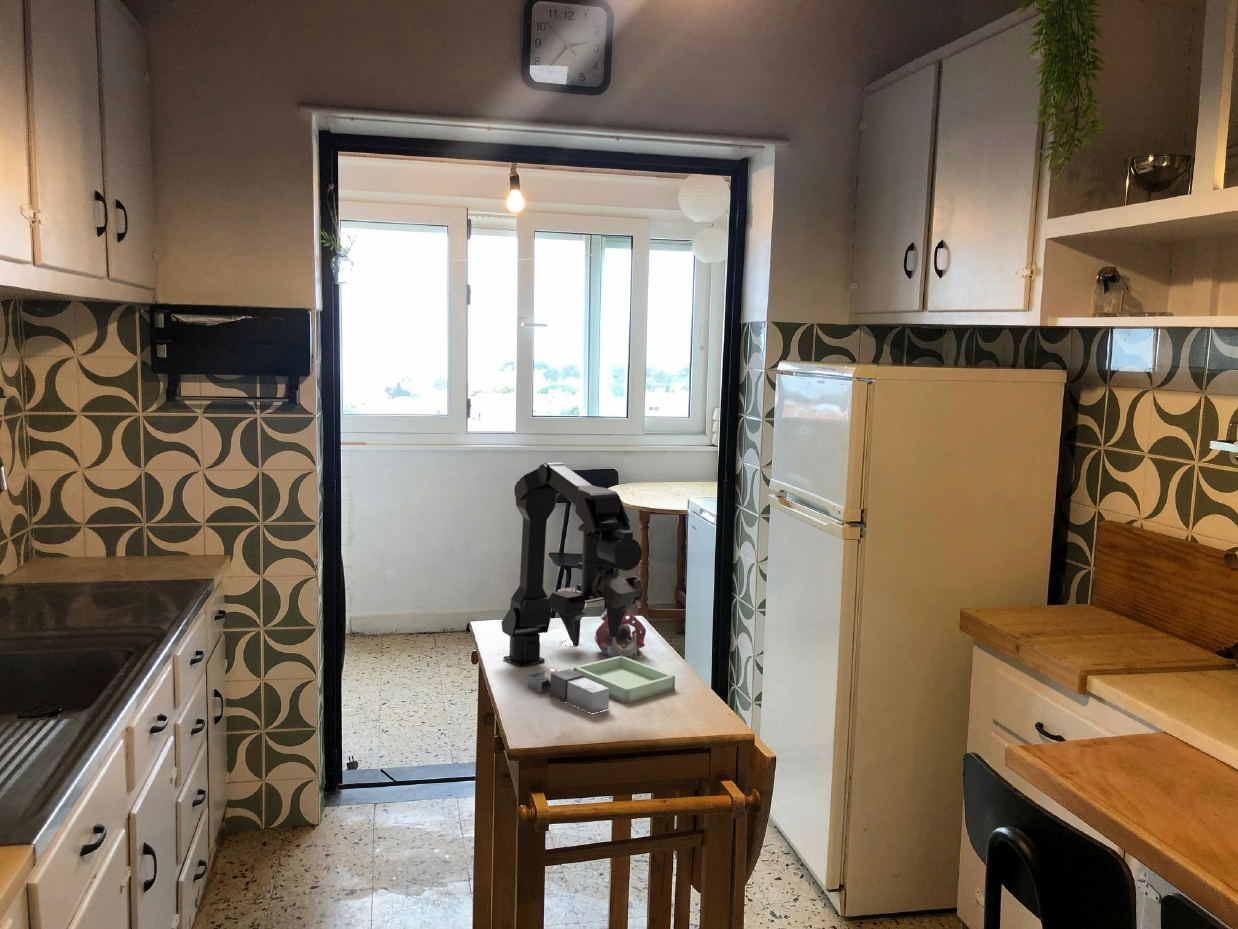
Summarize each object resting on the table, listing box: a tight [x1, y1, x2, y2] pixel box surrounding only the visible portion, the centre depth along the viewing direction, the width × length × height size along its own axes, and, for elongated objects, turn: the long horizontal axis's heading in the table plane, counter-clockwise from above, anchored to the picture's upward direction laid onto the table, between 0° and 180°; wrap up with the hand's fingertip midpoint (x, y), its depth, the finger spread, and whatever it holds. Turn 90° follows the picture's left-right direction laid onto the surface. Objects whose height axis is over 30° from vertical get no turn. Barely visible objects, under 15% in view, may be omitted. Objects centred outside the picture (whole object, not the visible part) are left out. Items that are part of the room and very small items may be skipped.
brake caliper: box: [594, 608, 647, 660], centre depth 209 cm, size 11×11×12 cm
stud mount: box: [527, 668, 559, 695], centre depth 185 cm, size 5×6×4 cm
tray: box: [572, 656, 676, 704], centre depth 189 cm, size 16×13×3 cm
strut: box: [549, 668, 610, 713], centre depth 178 cm, size 12×4×4 cm, turn 42°
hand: (594, 641), depth 176 cm, fingers open, 9 cm apart
